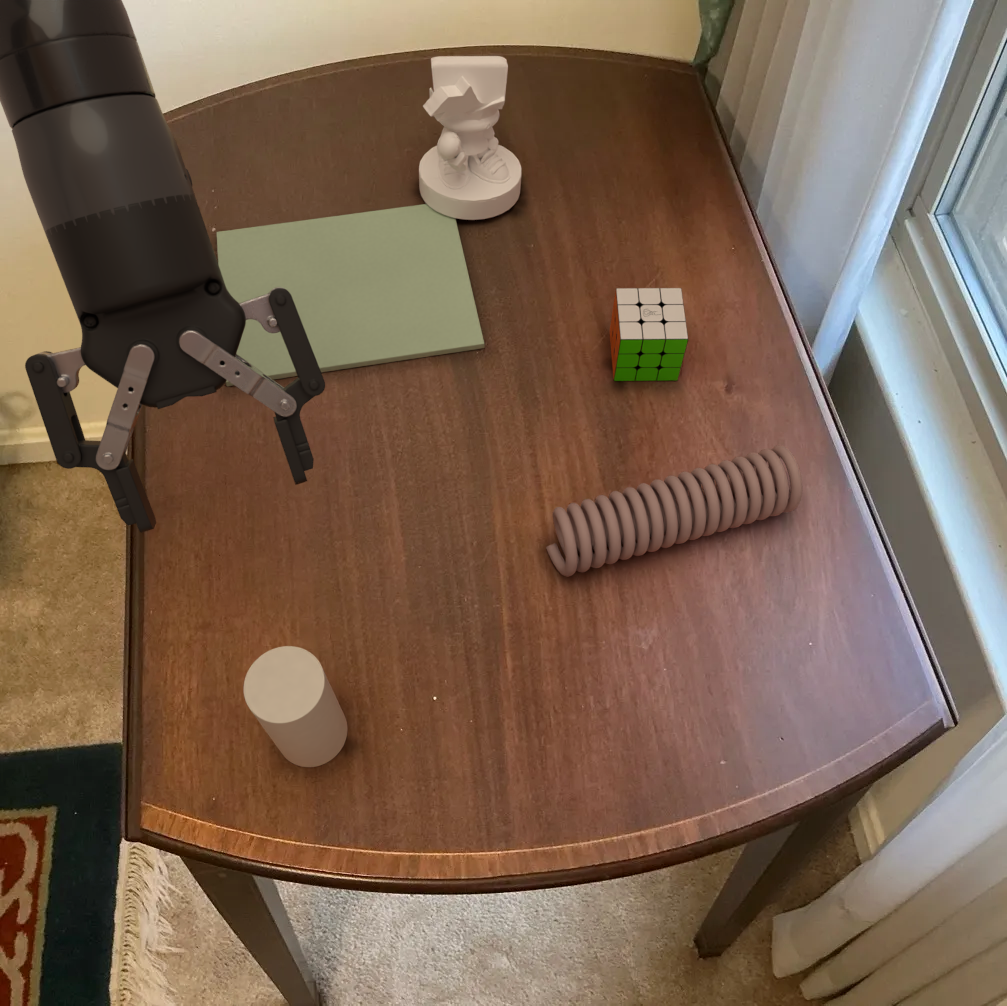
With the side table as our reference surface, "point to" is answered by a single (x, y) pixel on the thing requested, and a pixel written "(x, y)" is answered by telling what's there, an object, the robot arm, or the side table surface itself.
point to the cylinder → (296, 705)
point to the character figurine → (468, 140)
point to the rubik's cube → (648, 334)
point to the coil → (675, 510)
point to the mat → (356, 287)
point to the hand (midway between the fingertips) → (226, 503)
